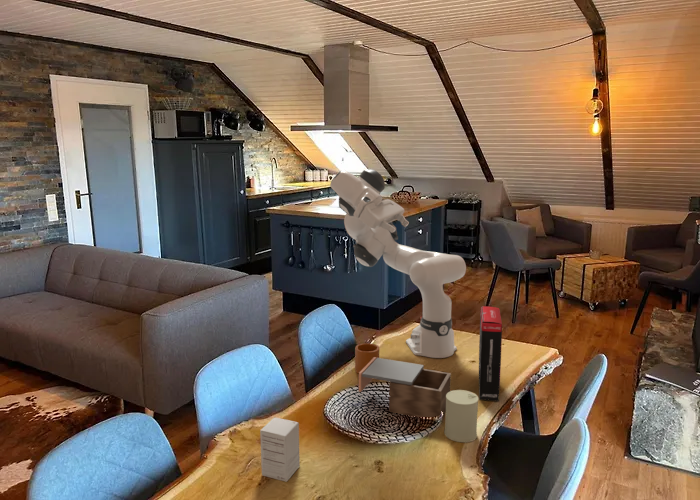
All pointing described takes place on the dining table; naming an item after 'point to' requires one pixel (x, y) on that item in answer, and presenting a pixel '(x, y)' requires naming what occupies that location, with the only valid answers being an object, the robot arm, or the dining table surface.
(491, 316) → the graphics card box
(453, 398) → the can
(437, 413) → the walnut box
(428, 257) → the robot arm
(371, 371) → the lid
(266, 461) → the supplement box
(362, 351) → the mug
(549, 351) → the dining table surface
